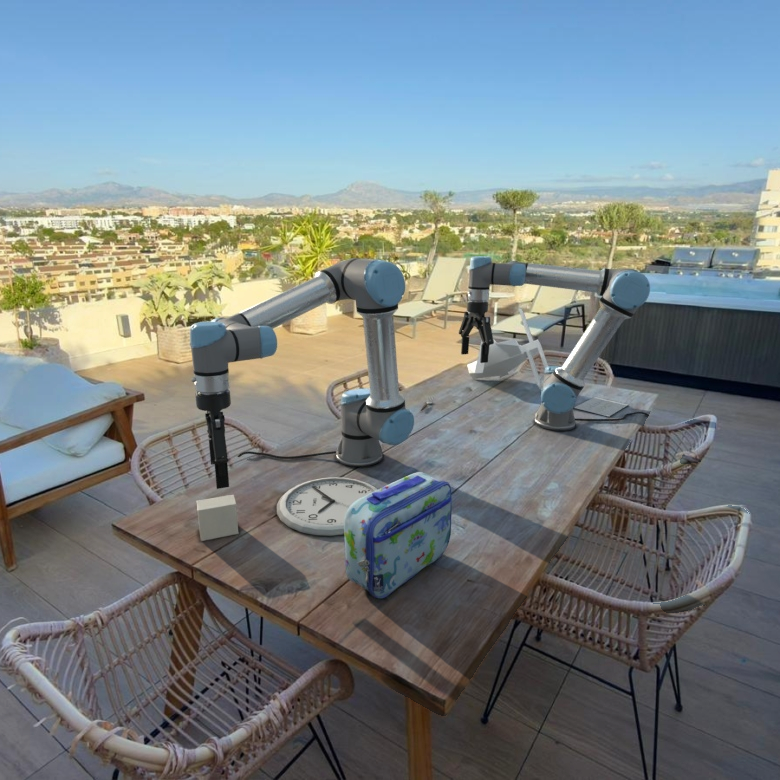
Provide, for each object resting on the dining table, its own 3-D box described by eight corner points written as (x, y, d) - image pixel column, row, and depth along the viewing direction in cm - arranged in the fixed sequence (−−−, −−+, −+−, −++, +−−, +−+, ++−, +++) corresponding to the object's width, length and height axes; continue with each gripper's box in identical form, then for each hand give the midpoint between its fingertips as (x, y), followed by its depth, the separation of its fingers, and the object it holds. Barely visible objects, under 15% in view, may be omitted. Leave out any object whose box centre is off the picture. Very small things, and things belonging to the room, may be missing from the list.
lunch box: (372, 611, 103) (373, 518, 97) (338, 585, 111) (336, 497, 104) (455, 557, 121) (460, 475, 115) (420, 537, 128) (424, 459, 122)
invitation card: (608, 416, 214) (573, 407, 224) (608, 416, 214) (573, 408, 224) (628, 404, 229) (594, 396, 238) (628, 405, 229) (594, 397, 238)
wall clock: (392, 527, 129) (268, 531, 127) (391, 533, 130) (269, 537, 127) (383, 473, 158) (282, 475, 155) (383, 478, 158) (282, 480, 156)
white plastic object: (488, 421, 263) (468, 398, 238) (469, 347, 285) (449, 320, 260) (560, 397, 251) (547, 370, 226) (534, 322, 273) (519, 290, 248)
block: (199, 530, 130) (196, 500, 128) (235, 523, 133) (233, 494, 131) (201, 541, 126) (197, 510, 123) (238, 533, 129) (236, 503, 126)
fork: (417, 411, 216) (418, 406, 216) (428, 400, 231) (428, 395, 230) (423, 412, 215) (424, 407, 215) (434, 400, 230) (434, 396, 229)
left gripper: (191, 377, 129) (199, 456, 135) (199, 409, 107) (207, 501, 113) (223, 375, 131) (229, 452, 138) (237, 405, 110) (243, 495, 116)
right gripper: (451, 296, 198) (448, 351, 204) (488, 306, 176) (483, 367, 182) (468, 296, 200) (465, 350, 207) (506, 305, 178) (501, 365, 185)
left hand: (219, 474), depth 125 cm, fingers open, 13 cm apart
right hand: (474, 358), depth 194 cm, fingers open, 13 cm apart
